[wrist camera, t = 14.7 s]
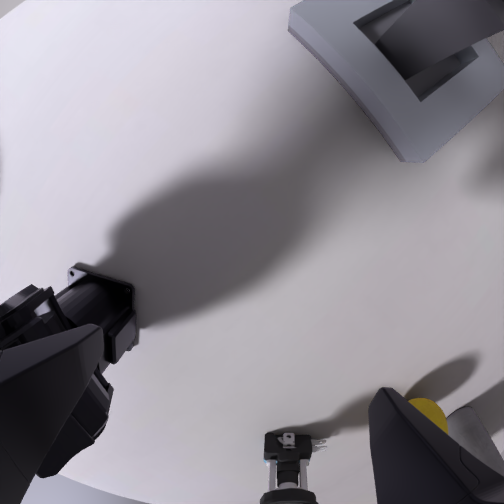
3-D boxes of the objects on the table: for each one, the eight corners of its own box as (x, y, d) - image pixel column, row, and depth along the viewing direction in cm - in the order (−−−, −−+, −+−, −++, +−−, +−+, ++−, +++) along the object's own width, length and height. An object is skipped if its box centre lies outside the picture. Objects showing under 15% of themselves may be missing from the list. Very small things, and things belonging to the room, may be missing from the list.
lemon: (431, 374, 23) (465, 431, 15) (428, 409, 25) (453, 462, 17) (380, 393, 24) (404, 456, 16) (381, 426, 25) (399, 484, 18)
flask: (437, 416, 25) (494, 552, 6) (476, 400, 24) (542, 518, 5) (417, 474, 29) (446, 576, 10) (450, 461, 28) (486, 556, 9)
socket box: (400, 161, 18) (426, 162, 14) (287, 30, 16) (290, 5, 12) (487, 86, 15) (516, 79, 12) (394, -26, 13) (410, -49, 9)
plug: (405, 80, 16) (537, 15, 3) (374, 44, 15) (475, -58, 3) (440, 55, 14) (560, -2, 2) (412, 21, 14) (512, -62, 2)
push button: (329, 423, 25) (341, 506, 16) (321, 451, 27) (328, 526, 17) (262, 424, 26) (256, 510, 16) (261, 452, 27) (255, 528, 18)
